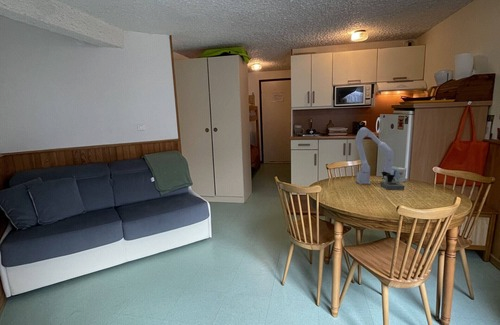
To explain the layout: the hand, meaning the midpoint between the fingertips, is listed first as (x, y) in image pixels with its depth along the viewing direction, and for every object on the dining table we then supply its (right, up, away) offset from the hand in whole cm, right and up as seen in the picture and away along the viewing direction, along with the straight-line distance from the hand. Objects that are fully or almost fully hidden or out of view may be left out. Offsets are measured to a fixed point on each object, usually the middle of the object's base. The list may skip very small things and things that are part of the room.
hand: (387, 181), depth 212 cm
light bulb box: (+13, 0, +9) cm, 16 cm away
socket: (-2, -4, -10) cm, 11 cm away
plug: (0, -2, 0) cm, 2 cm away
